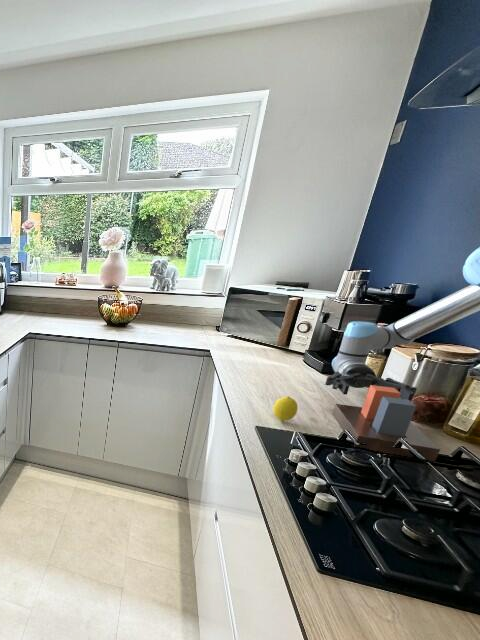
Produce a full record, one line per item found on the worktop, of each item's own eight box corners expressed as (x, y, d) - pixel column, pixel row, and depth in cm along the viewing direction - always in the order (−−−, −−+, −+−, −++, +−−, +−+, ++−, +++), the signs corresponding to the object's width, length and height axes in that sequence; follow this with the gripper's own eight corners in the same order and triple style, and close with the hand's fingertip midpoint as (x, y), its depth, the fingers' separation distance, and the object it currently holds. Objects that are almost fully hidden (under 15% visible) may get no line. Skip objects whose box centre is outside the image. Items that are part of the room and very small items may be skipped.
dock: (397, 423, 117) (401, 412, 116) (434, 462, 97) (440, 449, 96) (331, 413, 124) (335, 403, 123) (354, 447, 104) (358, 435, 103)
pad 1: (379, 426, 115) (394, 387, 111) (385, 433, 111) (400, 393, 107) (357, 422, 118) (370, 384, 114) (361, 429, 114) (375, 390, 110)
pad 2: (392, 440, 107) (408, 399, 103) (399, 448, 103) (416, 406, 99) (367, 436, 110) (382, 396, 106) (373, 444, 106) (389, 402, 101)
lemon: (279, 416, 123) (285, 392, 120) (297, 423, 118) (305, 398, 115) (265, 418, 121) (272, 394, 119) (284, 426, 116) (291, 400, 114)
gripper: (404, 391, 127) (434, 414, 110) (305, 379, 139) (318, 398, 122) (413, 368, 125) (444, 389, 108) (311, 358, 137) (325, 375, 120)
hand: (377, 394), depth 115 cm, fingers open, 13 cm apart
